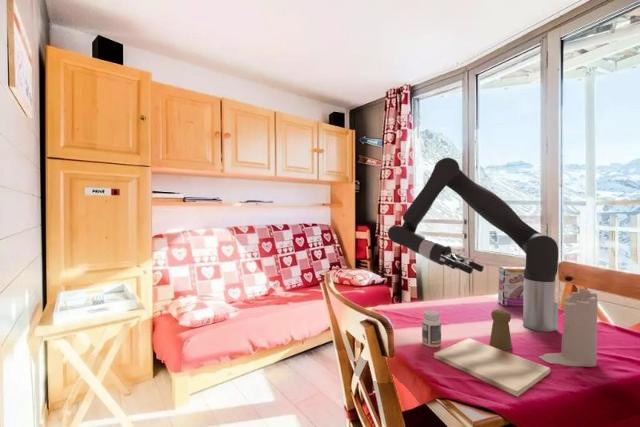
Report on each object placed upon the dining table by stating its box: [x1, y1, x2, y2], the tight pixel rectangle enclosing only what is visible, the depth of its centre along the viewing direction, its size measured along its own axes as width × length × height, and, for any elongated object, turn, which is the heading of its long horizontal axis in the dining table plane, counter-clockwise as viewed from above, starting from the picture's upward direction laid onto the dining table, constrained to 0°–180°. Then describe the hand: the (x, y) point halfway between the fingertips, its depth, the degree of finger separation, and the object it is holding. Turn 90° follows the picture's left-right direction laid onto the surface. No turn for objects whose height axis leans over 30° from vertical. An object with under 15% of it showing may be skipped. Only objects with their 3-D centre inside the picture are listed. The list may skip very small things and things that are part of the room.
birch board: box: [433, 337, 551, 398], centre depth 84 cm, size 22×18×1 cm
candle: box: [538, 287, 599, 368], centre depth 86 cm, size 7×14×20 cm, turn 88°
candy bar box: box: [497, 266, 526, 307], centre depth 134 cm, size 11×5×16 cm, turn 84°
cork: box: [489, 308, 513, 351], centre depth 95 cm, size 6×6×11 cm
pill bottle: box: [421, 310, 442, 348], centre depth 97 cm, size 6×6×10 cm
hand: (477, 270), depth 102 cm, fingers open, 8 cm apart
